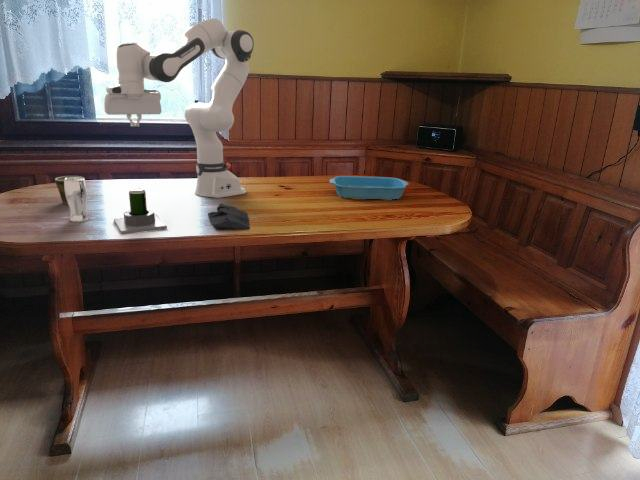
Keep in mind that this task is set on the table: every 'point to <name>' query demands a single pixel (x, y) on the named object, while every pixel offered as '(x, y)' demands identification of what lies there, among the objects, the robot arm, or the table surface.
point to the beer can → (138, 201)
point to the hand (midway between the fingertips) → (135, 126)
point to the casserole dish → (369, 187)
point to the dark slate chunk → (229, 218)
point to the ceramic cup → (62, 187)
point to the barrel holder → (139, 222)
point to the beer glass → (76, 198)
